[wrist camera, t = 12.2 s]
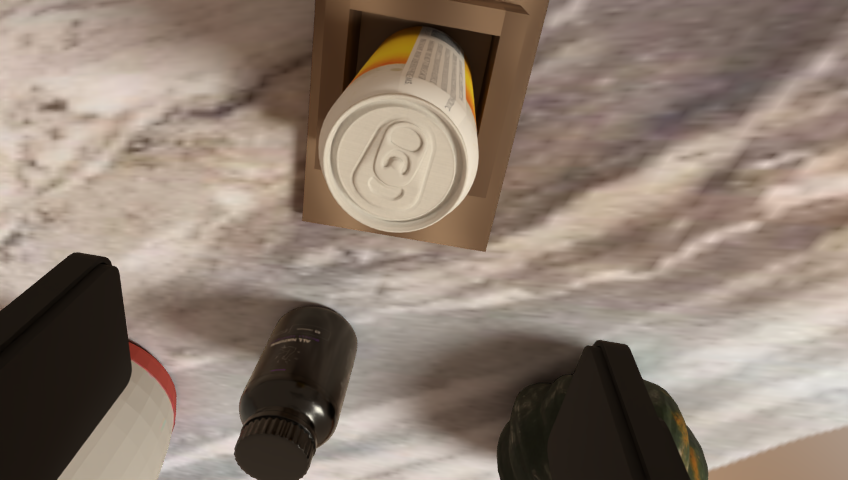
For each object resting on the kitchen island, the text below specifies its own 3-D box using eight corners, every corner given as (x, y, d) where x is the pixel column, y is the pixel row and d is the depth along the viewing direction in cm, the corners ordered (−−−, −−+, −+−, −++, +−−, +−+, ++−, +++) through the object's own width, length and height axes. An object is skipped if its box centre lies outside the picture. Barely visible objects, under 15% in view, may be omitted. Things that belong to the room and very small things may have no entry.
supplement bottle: (309, 287, 42) (260, 403, 31) (375, 337, 44) (350, 462, 33) (258, 336, 45) (196, 458, 34) (323, 381, 47) (284, 510, 36)
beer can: (356, 104, 34) (291, 206, 21) (392, 6, 31) (343, 52, 18) (446, 142, 35) (438, 264, 21) (488, 50, 32) (509, 126, 19)
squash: (735, 506, 43) (759, 592, 30) (561, 551, 48) (515, 642, 35) (652, 337, 47) (640, 346, 34) (500, 395, 52) (437, 422, 39)
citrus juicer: (106, 266, 42) (-144, 499, 25) (236, 416, 49) (114, 679, 32) (-34, 329, 46) (-336, 569, 28) (105, 460, 53) (-67, 715, 36)
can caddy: (574, -114, 29) (598, -125, 24) (484, 244, 39) (488, 287, 34) (329, -161, 28) (303, -182, 23) (305, 214, 39) (284, 253, 34)
